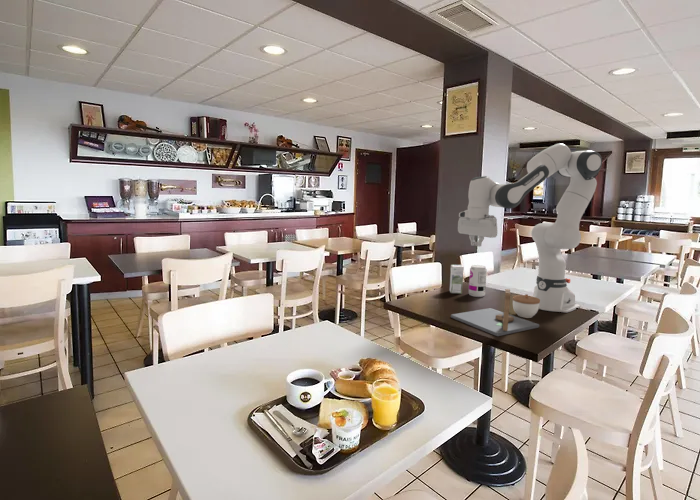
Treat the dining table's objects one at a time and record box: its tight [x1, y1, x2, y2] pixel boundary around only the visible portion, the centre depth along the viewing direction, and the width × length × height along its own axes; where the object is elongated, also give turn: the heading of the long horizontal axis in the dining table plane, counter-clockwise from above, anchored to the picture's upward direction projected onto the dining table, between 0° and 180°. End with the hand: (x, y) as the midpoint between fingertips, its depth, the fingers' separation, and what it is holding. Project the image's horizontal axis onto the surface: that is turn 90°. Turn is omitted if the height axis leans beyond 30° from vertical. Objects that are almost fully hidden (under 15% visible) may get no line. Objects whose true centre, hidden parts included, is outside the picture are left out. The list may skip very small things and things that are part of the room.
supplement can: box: [468, 264, 488, 298], centre depth 209 cm, size 8×8×15 cm
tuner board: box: [450, 307, 540, 337], centre depth 166 cm, size 23×25×3 cm
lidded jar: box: [512, 293, 540, 319], centre depth 175 cm, size 11×11×9 cm
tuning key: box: [496, 288, 514, 331], centre depth 159 cm, size 18×7×14 cm, turn 160°
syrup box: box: [449, 264, 464, 295], centre depth 214 cm, size 6×6×14 cm
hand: (475, 245), depth 179 cm, fingers closed
